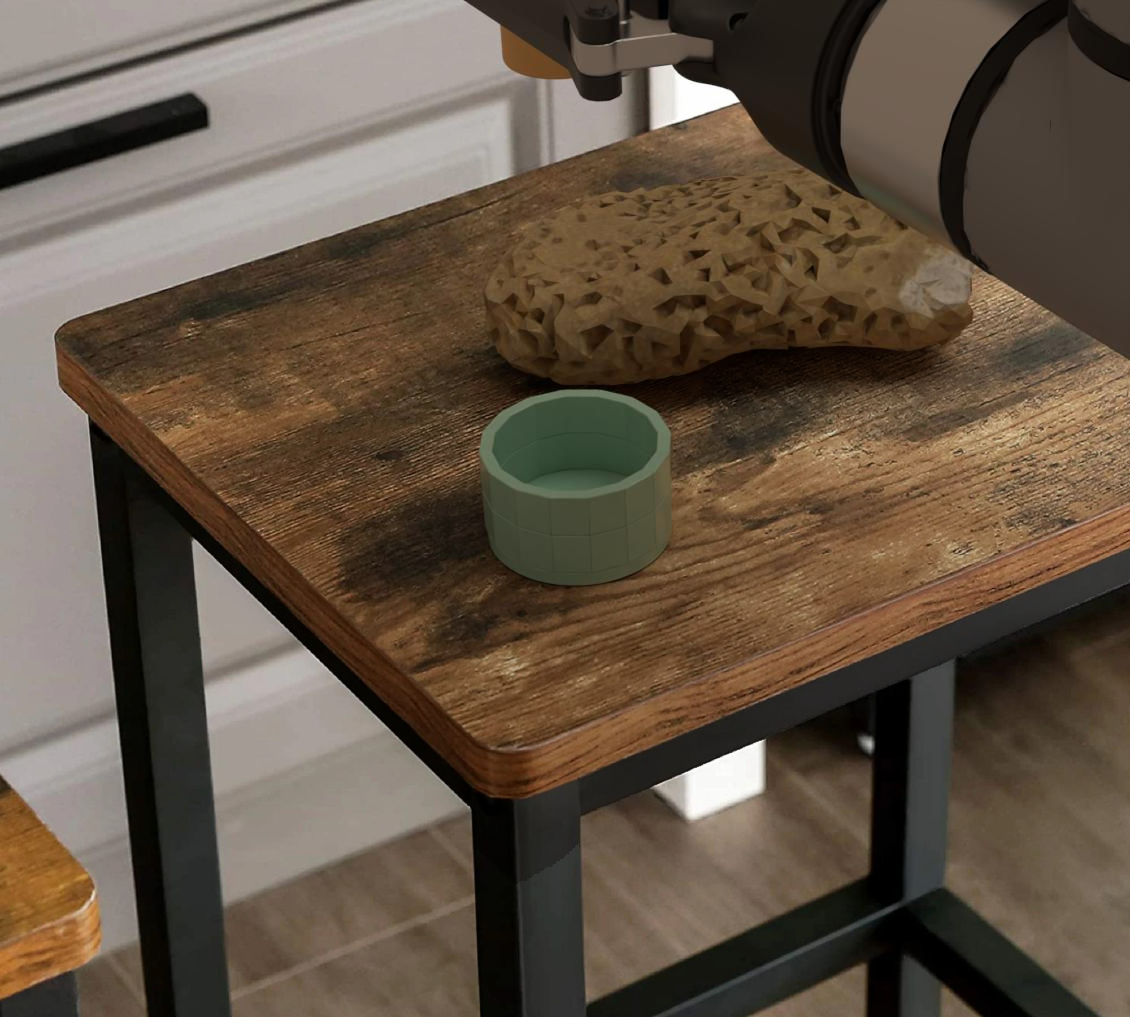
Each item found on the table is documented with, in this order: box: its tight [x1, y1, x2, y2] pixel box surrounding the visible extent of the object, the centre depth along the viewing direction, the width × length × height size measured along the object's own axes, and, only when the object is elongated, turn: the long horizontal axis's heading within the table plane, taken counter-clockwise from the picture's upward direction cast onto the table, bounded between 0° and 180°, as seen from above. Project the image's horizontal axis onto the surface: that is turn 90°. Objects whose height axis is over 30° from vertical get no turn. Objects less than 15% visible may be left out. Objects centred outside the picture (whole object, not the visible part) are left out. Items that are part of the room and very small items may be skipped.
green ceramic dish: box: [478, 389, 674, 587], centre depth 80 cm, size 7×7×4 cm
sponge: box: [482, 168, 975, 386], centre depth 90 cm, size 13×8×20 cm
